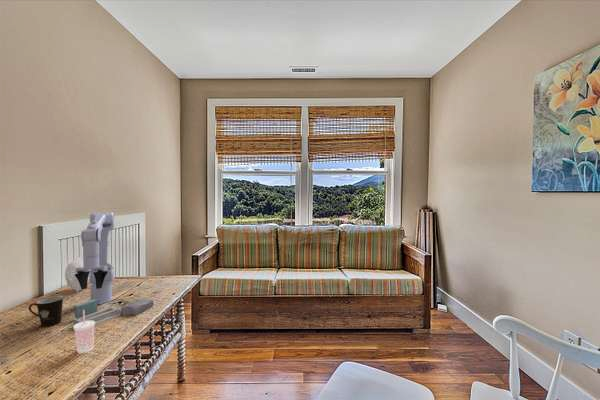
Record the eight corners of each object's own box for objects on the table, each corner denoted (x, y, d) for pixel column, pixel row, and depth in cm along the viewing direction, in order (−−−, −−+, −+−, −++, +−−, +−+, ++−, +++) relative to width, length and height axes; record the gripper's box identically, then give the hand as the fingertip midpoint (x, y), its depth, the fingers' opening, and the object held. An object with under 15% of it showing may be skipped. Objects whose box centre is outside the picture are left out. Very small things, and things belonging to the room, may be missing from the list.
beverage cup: (91, 353, 105) (89, 312, 104) (71, 355, 104) (68, 314, 103) (99, 344, 111) (97, 305, 110) (80, 346, 110) (77, 307, 109)
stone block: (118, 318, 137) (138, 315, 135) (116, 307, 137) (135, 304, 135) (138, 309, 148) (156, 306, 146) (136, 299, 148) (154, 296, 146)
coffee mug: (69, 320, 131) (68, 297, 131) (46, 329, 123) (45, 304, 123) (50, 317, 135) (49, 294, 134) (27, 325, 127) (26, 301, 126)
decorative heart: (71, 287, 175) (69, 257, 174) (93, 284, 180) (92, 255, 179) (62, 297, 159) (60, 264, 158) (87, 294, 163) (85, 261, 162)
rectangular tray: (73, 326, 126) (73, 319, 125) (111, 312, 139) (110, 306, 139) (83, 329, 122) (83, 322, 122) (120, 315, 136) (120, 309, 135)
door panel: (75, 319, 132) (74, 305, 132) (94, 312, 139) (94, 299, 139) (77, 320, 131) (77, 306, 131) (97, 313, 139) (97, 299, 138)
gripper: (68, 258, 132) (68, 291, 130) (97, 256, 129) (98, 290, 128) (83, 257, 139) (83, 288, 137) (111, 255, 136) (111, 286, 135)
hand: (91, 288), depth 133 cm, fingers open, 7 cm apart
